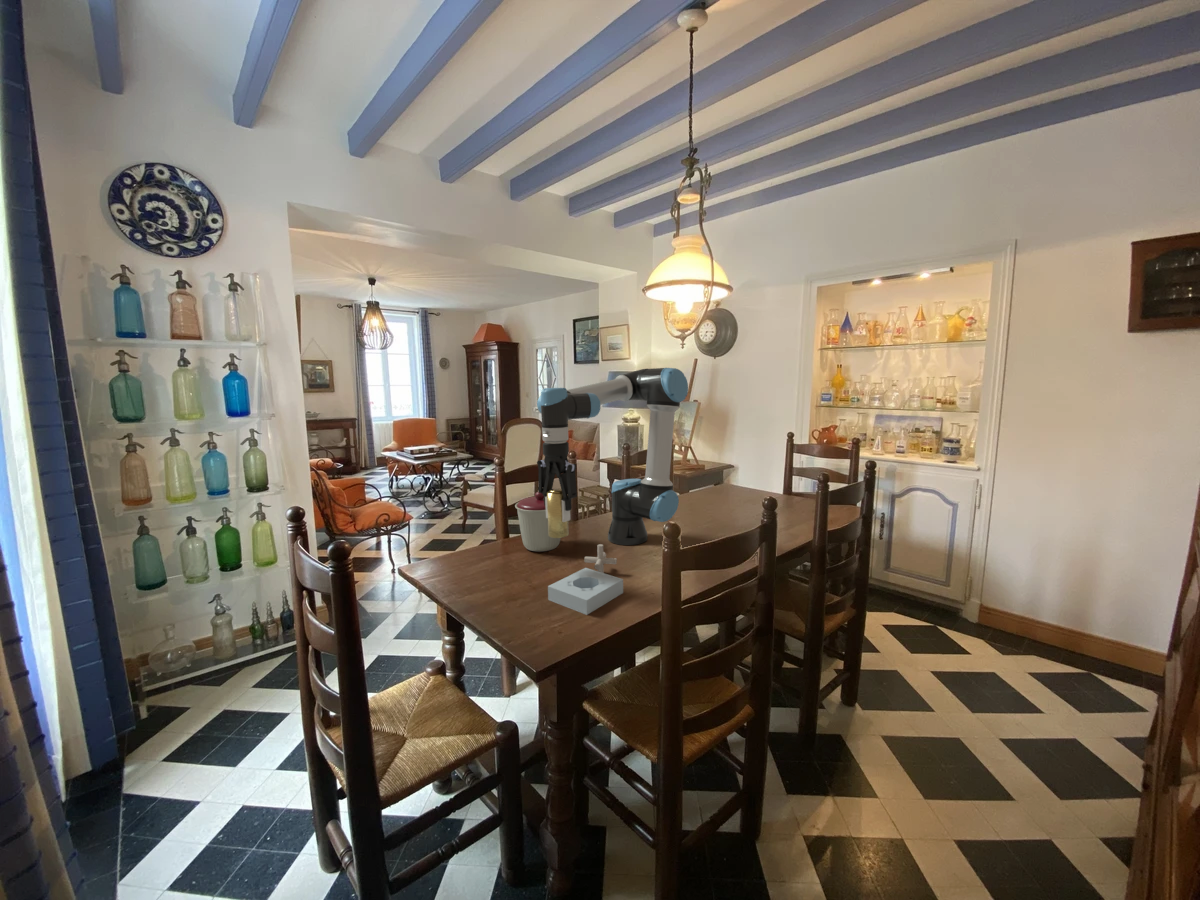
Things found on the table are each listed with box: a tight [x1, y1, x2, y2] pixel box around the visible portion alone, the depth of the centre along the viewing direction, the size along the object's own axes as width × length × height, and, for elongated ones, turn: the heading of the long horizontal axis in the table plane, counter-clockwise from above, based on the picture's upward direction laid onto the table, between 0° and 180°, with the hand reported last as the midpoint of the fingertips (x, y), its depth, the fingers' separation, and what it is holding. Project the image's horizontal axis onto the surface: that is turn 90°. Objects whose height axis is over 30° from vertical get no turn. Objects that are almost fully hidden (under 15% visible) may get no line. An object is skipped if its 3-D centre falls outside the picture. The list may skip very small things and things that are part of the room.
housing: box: [547, 567, 624, 616], centre depth 133 cm, size 16×14×5 cm
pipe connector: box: [583, 543, 618, 573], centre depth 149 cm, size 10×10×10 cm
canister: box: [514, 491, 562, 553], centre depth 174 cm, size 18×18×21 cm
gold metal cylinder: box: [547, 487, 570, 538], centre depth 141 cm, size 6×6×14 cm
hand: (558, 518), depth 141 cm, fingers closed on gold metal cylinder, 6 cm apart
